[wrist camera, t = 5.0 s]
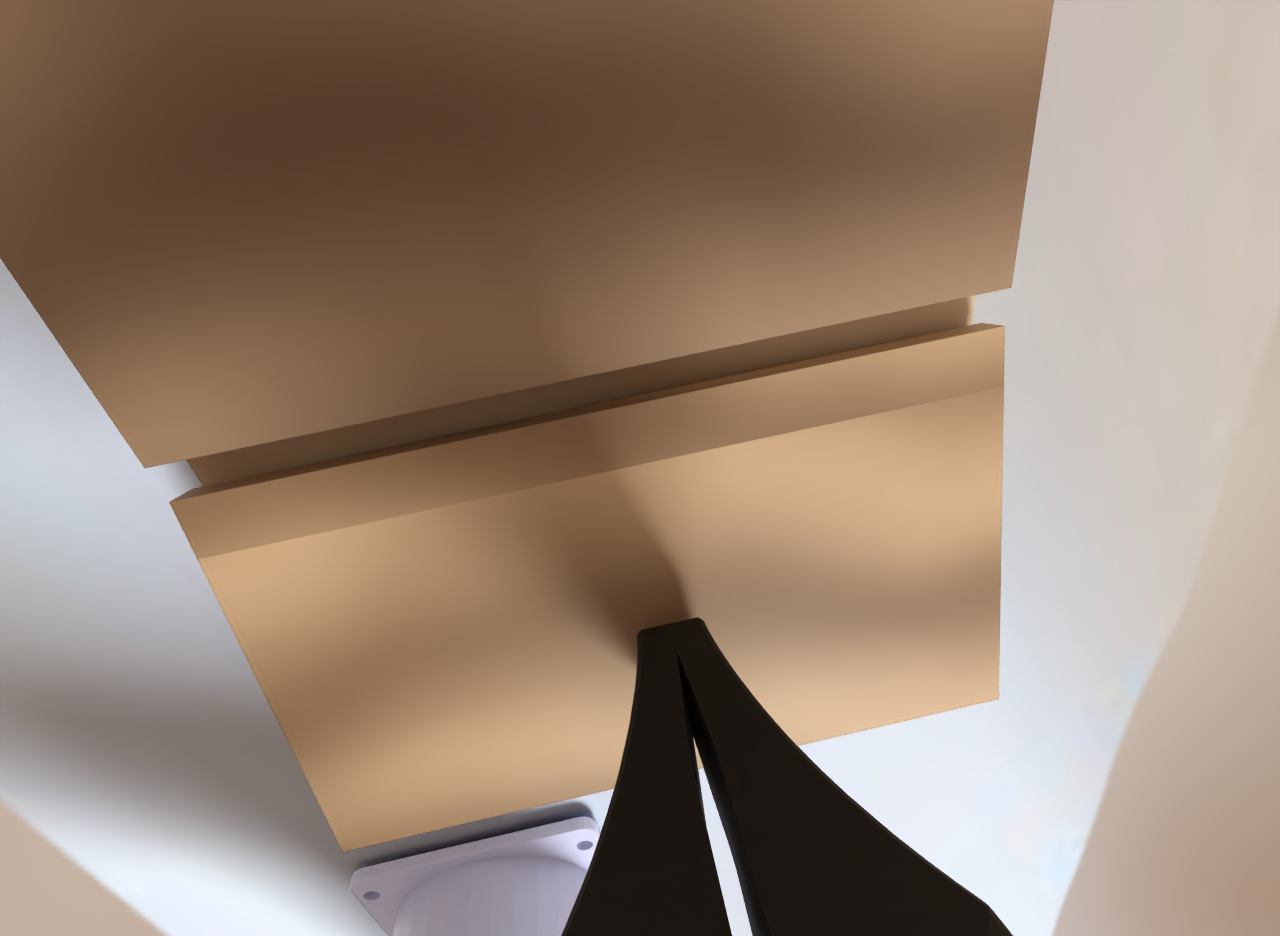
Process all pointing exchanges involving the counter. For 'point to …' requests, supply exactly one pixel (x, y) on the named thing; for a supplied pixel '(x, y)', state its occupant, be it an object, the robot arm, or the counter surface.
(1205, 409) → the counter surface
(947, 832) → the counter surface
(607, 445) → the loose plank
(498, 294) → the laid plank
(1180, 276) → the counter surface
